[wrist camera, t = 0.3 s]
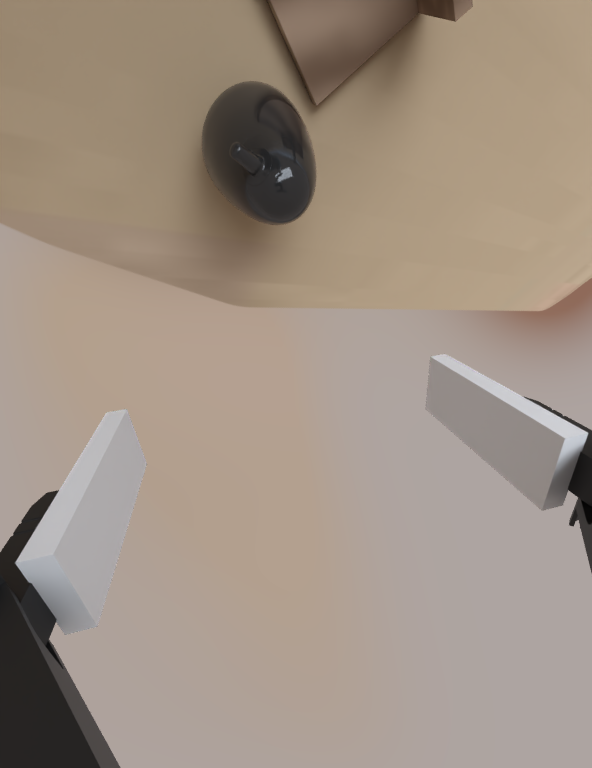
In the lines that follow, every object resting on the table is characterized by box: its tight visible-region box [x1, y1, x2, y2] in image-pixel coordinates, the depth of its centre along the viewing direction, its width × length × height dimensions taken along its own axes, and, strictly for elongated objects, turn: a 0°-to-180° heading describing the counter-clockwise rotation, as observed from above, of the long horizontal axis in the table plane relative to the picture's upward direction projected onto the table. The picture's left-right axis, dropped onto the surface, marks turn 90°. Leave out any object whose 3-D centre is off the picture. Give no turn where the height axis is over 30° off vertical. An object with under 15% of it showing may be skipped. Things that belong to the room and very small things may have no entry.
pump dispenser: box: [202, 81, 316, 225], centre depth 31 cm, size 10×10×15 cm
